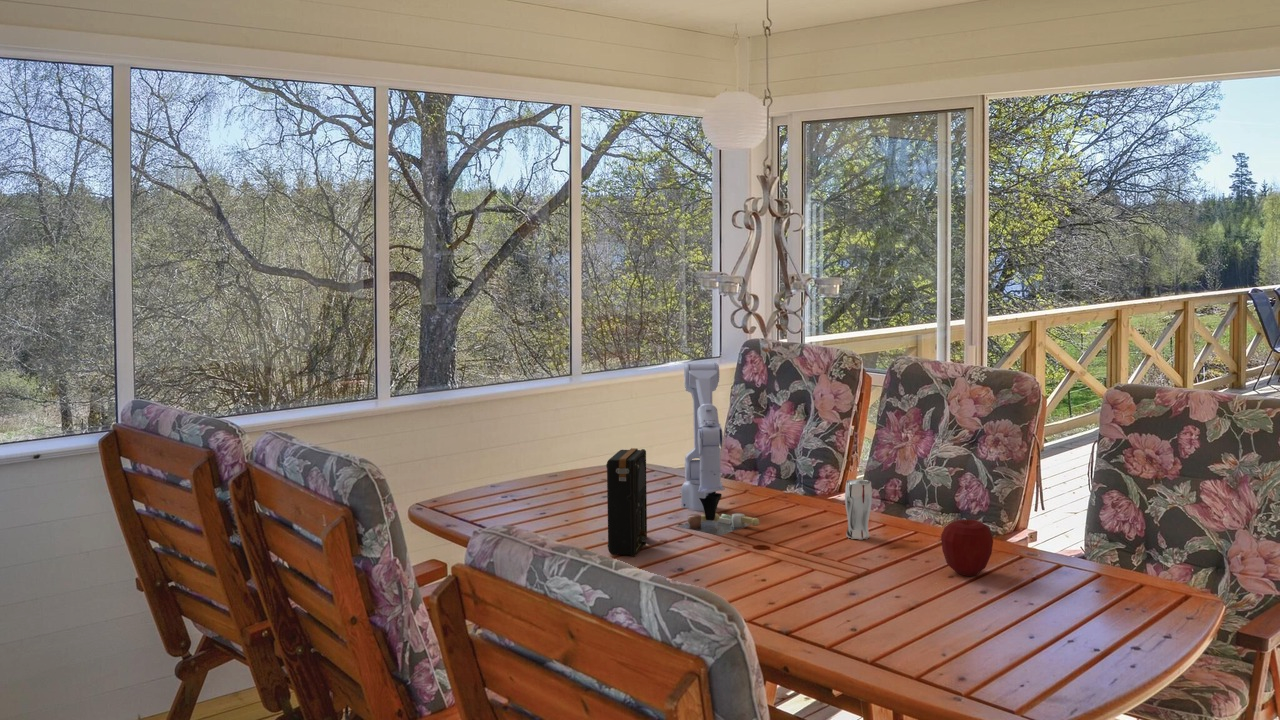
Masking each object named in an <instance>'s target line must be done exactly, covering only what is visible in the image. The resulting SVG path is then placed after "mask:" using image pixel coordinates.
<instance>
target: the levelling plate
mask: <svg viewBox="0 0 1280 720" xmlns="http://www.w3.org/2000/svg"><path fill="white" fill-rule="evenodd" d="M748 526H750V524H747V523H745V527H741V528H737V527H732V523H731V524H726V523H721V522H718V521H701V527H700V528H689V527H688V522H685V523H683V524H680V525H676V526H675V527H677V528H681V529H686V530H690V531H695V532H701V533H705V534H711V535H714V536H715V535H716V536H719V537H720V536H724V535H726V534H729V533H733V532H735V531H739V530H741V529H743V528H747V527H748Z"/></svg>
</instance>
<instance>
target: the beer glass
mask: <svg viewBox="0 0 1280 720" xmlns="http://www.w3.org/2000/svg"><path fill="white" fill-rule="evenodd" d="M872 501H873V493H872V481H870V480H868V479H860V478H858V479H857V478H855V479H854V478H853V479H848V480H846V481H845V489H844V505H845V510H846V518H847V530H846V536H847V537H848V538H847V537H846V538H847V539H849V538H851V539H850V540H853V539H859V540H858V541H864V540H863V539H866V540H869V539H870V537H871V536H870V533H869V518H870V515H871V509H872ZM868 538H869V539H868Z"/></svg>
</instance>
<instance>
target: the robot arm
mask: <svg viewBox="0 0 1280 720" xmlns="http://www.w3.org/2000/svg"><path fill="white" fill-rule="evenodd" d="M683 369H684V370H683V377H684V378H683V379H684V388H685V391H686V392H688V393H690V394H691V397H692V402H693V403H692V404H693V406H692V407H693V413H692V414H693V447H694V448H692V449H691V450H690V451H689V452H688V453H686V455H685V456H684V457H685V459H684V480H685V481H684V482H683V483H682V485H681V490H680V491H681V494H680V495H681V496H680V499H681V508H684V509H688V510H692V511H696V512H698V511H699V512H704V515H705V517H706V520H712V521H713V520H714V519H715V514H716V512H717V509H718V505H719V503H720V500H721V498H722V493H720V492H719V491H724V490H726V486H723V481H721V479H722V478H721V477H722V474H721V473H722V472H721V470H722V469H721V467H722V459H721V457H722V455H721V453H722V452H721V450H722V449H721V448H722V447H723V442H724V433H723V432H724V431H723V428H722V425H721V423H720V421H719V413H718V408H717V407H716V406H715V405H714V404H713V392H714V391H716V390H717V387H718V386H719V383H720V365H719V364H718V363H717V362H713V363H688V362H687V363H685V364H684V368H683Z"/></svg>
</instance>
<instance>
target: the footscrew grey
mask: <svg viewBox="0 0 1280 720" xmlns="http://www.w3.org/2000/svg"><path fill="white" fill-rule="evenodd" d="M731 517H732V527H737V528H741V527H744V528H746V527H745V524H749V525H752V526H753V527H757V526H758V525H760V520H759V518H758V517H751V516H746V515H745V514H744V513H732V514H731ZM741 529H742V528H741Z"/></svg>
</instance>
